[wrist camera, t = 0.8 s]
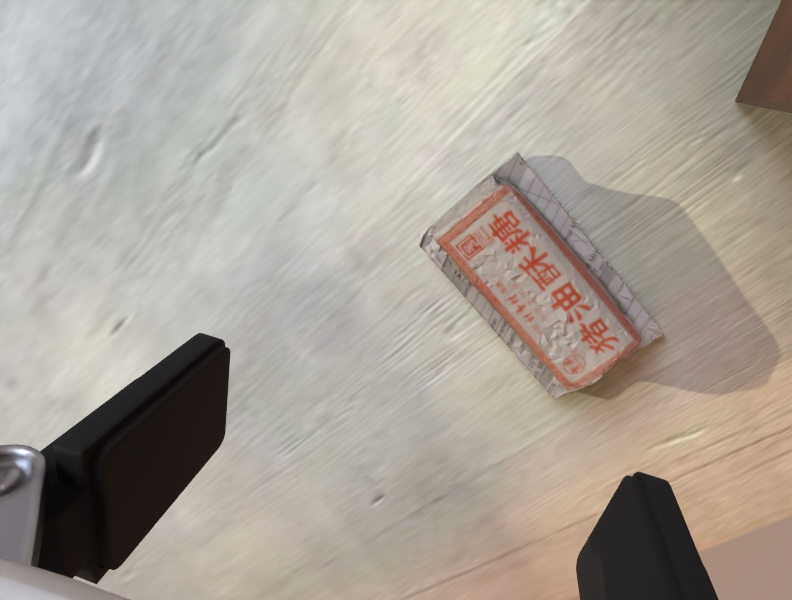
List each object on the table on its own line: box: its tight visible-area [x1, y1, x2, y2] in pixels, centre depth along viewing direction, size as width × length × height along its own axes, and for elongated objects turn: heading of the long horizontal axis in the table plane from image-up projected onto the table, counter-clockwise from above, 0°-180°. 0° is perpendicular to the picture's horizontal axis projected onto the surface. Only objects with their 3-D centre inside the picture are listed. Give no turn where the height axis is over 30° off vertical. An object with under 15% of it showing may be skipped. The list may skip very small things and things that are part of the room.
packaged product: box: [419, 152, 664, 399], centre depth 35 cm, size 18×5×10 cm
